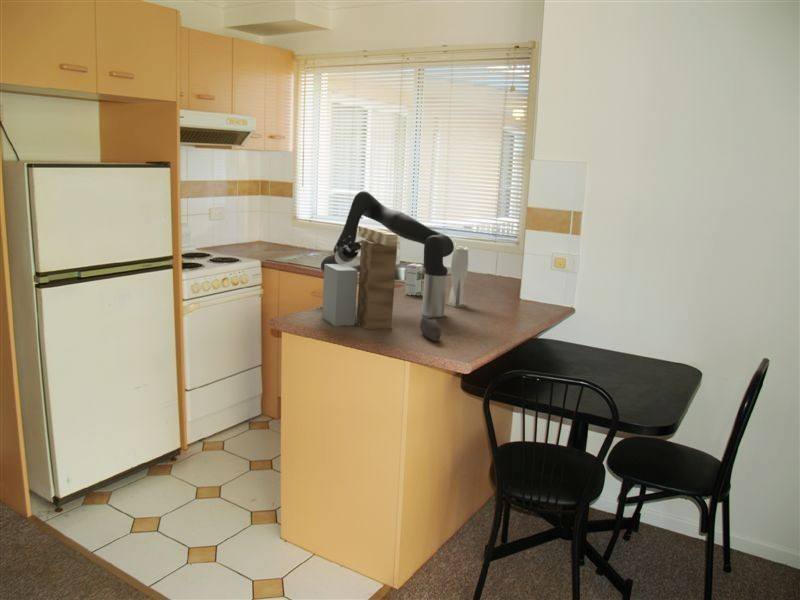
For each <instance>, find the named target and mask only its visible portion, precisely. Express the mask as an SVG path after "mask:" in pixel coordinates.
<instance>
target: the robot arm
mask: <svg viewBox="0 0 800 600" xmlns="http://www.w3.org/2000/svg"><path fill="white" fill-rule="evenodd" d="M363 216H364V217H365V218H369V219H371V220H373V221H376V222H378V223H380V224H381V225H383V227H384V228H386V229H387V230H389V232H390V231H391V233H394V234H397V235H398V237H401V238H402V239H406V240H408V241H412V242H415V243H418V244H422V245H424V246H423V268H424V281H423V291H422V292H423V293H422V303H421V304H422V308H421V315H422V316H431V317H432V318H444V316H445V309H446V307H445V306H446V305H445V304H446V296H447V294H446V292H447V282H448V280H447V279H448V268H447V266H444V258H446V257H448V256H450V255H452V254H453V250H454V242H453V240H452V239H451V238H450V237H449V236H448V235H446V234H443V233H441V232H438V231H436V230H434V229H432V228H430V227H428V226H426V225H424V224H423V223H421V222H420V221H418V220H415V219H414V218H413V217H411V216H409V215H407V214H406V213H404V212H402V211H399V210H395V209H391V208H388V207H386V206H385V205H384V204H382V202H380V201H379V200H378V199H376V198H375V197H374V195H372V194H371V193H370V192H368V191H366V190H361V191H359V192H358V193H356V194H355V196H354V198H353V200H352V203H351V206H350V209H349V211H348V215H347V218H346V221H345V223H344V227H343V229H342V231H341V234H340V235H339V237H338V239H337V241H336V243H335V245H334V246H333V253H334V254H332V255H329V256H327V257H325V258H324V259H323V260H322V262H321V263H320V270H321V271H322V272H323V273H324V264H345V265H347V266H349V264H350V263H352V261H354V259H355V258H356V257H358V255H359V252H361V240H358V241H356V239H357V236H358V234H357V233H358V229H359V223H360V220H361V218H362V217H363ZM365 240H368V239H365Z"/></svg>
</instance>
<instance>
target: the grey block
mask: <svg viewBox="0 0 800 600" xmlns="http://www.w3.org/2000/svg"><path fill="white" fill-rule="evenodd" d="M358 273H359V270H358V269H356V268H355V267H352V266H350V265H345V264H324V272H323V286H322V287H323V288H322V307H321V308H322V309H321V315H322V316H321V318H322V319H324V320H325V319H326V320H325V321H326V322H328V323H330V324H331V325H333V326H334V327H342V326H343V325H346V326H355V324H356V323H355V322H356V313H357V312H356V311H357V295H358V290H357V289H358V277H359V274H358ZM341 325H342V326H341ZM343 327H344V326H343Z"/></svg>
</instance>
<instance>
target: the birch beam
mask: <svg viewBox="0 0 800 600" xmlns="http://www.w3.org/2000/svg"><path fill="white" fill-rule="evenodd" d="M357 233H358V234H357V236H358V237H359V238H362V239H364V240H366V239H368V240H371V241H374V242H377V243H380V244H383V245H386V246H397V247H398V237H399V235H397V234H395V233H393V232H390V231H387V230H383V229H380V228H377V227H373V226H369V225H358V231H357Z"/></svg>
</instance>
